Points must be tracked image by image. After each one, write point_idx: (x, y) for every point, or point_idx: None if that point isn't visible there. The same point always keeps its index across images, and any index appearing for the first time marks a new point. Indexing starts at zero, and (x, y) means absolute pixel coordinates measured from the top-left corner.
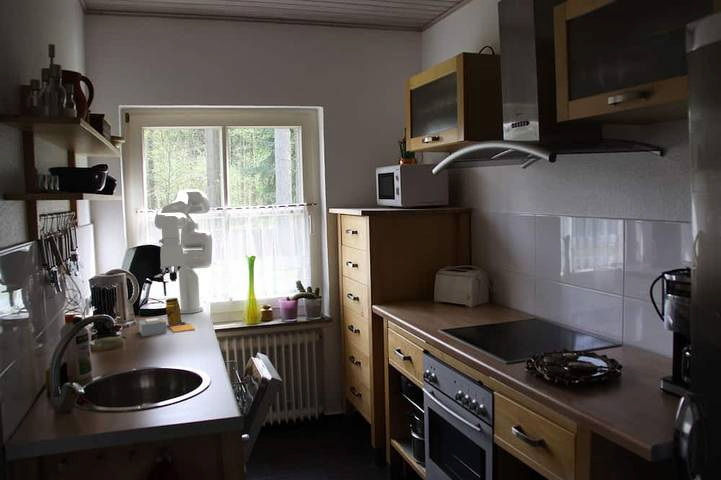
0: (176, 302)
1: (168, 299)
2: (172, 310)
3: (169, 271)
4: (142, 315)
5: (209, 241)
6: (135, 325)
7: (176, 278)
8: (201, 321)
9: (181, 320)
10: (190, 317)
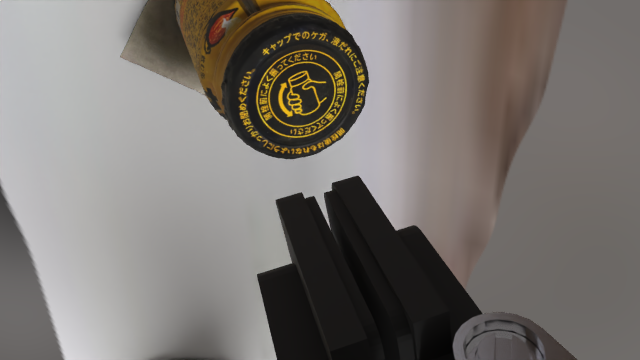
0: (230, 34)
1: (339, 114)
2: None
3: (552, 345)
4: None
5: None
6: (510, 101)
7: (270, 270)
8: (6, 85)
9: (175, 4)
10: (146, 254)
